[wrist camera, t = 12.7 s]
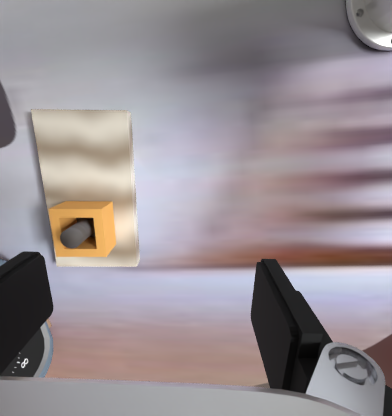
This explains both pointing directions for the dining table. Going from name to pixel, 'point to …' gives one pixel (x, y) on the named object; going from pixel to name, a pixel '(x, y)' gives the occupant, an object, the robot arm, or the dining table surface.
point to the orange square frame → (66, 217)
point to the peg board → (90, 176)
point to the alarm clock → (33, 354)
